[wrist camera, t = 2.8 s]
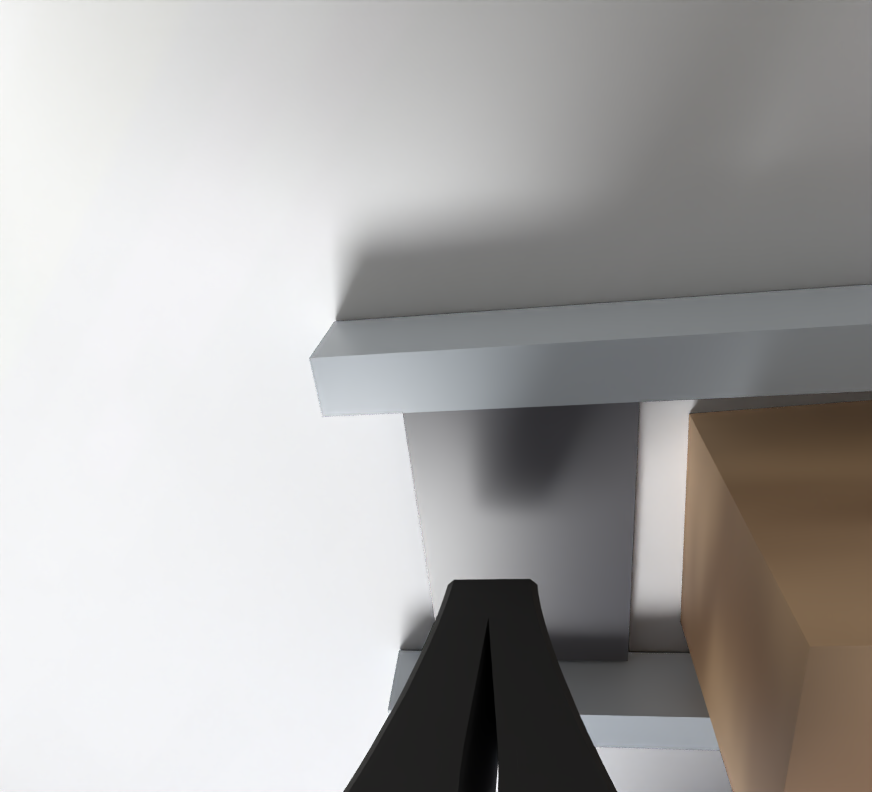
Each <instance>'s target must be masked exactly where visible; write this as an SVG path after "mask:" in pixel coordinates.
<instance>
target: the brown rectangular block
mask: <svg viewBox="0 0 872 792" xmlns="http://www.w3.org/2000/svg"><path fill="white" fill-rule="evenodd" d="M680 622H681V625H682V629H683V632H684V635H685V638H686V642H687V645H688V648H689V651H690V655H691V658H692V661H693V664H694V668H695V671H696V674H697V677H698V681H699V684H700V687H701V690H702V694H703V697H704V700H705V703H706V707H707V710H708V713H709V716H710V720H711V723H712V726H713V729H714V733H715V736H716V739H717V742H718V746H719V749H720V752H721V755H722V758H723V762H724V765H725V768H726V771H727V775H728V778H729V781H730V784H731V788H732V791H733V792H872V400H865V401H852V402H839V403H825V404H812V405H798V406H785V407H772V408H758V409H745V410H732V411H718V412H705V413H692V414H689V430H688V454H687V477H686V501H685V525H684V548H683V572H682V595H681V619H680Z"/></svg>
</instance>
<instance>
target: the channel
mask: <svg viewBox="0 0 872 792" xmlns="http://www.w3.org/2000/svg"><path fill="white" fill-rule="evenodd" d="M309 359H310V363H311V368H312V372H313V377H314V381H315V386H316V390H317V395H318V399H319V404H320V408H321V413H322V417H328V416H350V415H371V414H393V413H403V417H404V424H405V430H406V437H407V443H408V450H409V456H410V463H411V469H412V476H413V482H414V489H415V495H416V502H417V508H418V515H419V521H420V527H421V534H422V540H423V547H424V553H425V560H426V566H427V573H428V579H429V586H430V592H431V599H432V605H433V612H434V618H435V620H436V617H437V615H438V612H439V609H440V607H441V604H442V601H443V598H444V595H445V592H446V589H447V586H448V584H449V583H451V582H452V581H453V580H462V579H531V580H532V581H534V582H535V583H536V584H537V585H538V594H539V599H540V604H541V609H542V613H543V617H544V620H545V624H546V627H547V631H548V634H549V637H550V640H551V643H552V646H553V649H554V652H555V655H556V657H557V660H558V663H559V665H560V668H561V671H562V673H563V676H564V678H565V680H566V683H567V685H568V688H569V690H570V692H571V695H572V697H573V700H574V702H575V705H576V707H577V709H578V712H579V714H580V716H581V718H582V721H583V723H584V725H585V727H586V729H587V732H588V734H589V736H590V738H591V740H592V742H593V744H594V746H595V747H619V748H652V749H686V750H720V749H719V746H718V742H717V739H716V736H715V733H714V729H713V726H712V723H711V720H710V716H709V713H708V710H707V707H706V703H705V700H704V697H703V694H702V690H701V687H700V684H699V681H698V677H697V674H696V671H695V668H694V664H693V661H692V658H691V655H690V653H637V652H628V646H629V623H630V601H631V579H632V557H633V535H634V513H635V491H636V469H637V446H638V424H639V402H649V401H671V400H692V399H713V398H735V397H756V396H778V395H799V394H820V393H842V392H863V391H872V284H870V285H856V286H841V287H827V288H812V289H798V290H783V291H769V292H754V293H740V294H725V295H711V296H696V297H682V298H668V299H653V300H639V301H624V302H610V303H595V304H581V305H566V306H552V307H537V308H523V309H509V310H494V311H480V312H465V313H451V314H436V315H422V316H407V317H393V318H378V319H364V320H349V321H335V322H334V323H333V324H332V326H331V327H330V329H329V330H328V332H327V333H326V335H325V336H324V337H323V339H322V340H321V342H320V343H319V345H318V346H317V348H316V349H315V351H314V352H313V354H312V355H311V357H310V358H309ZM421 652H422V651H403V650H399V654H398V659H397V664H396V670H395V675H394V680H393V686H392V691H391V696H390V702H389V707H388V713H389V714H390V713H391V711H392V709H393V707H394V706H395V704H396V702H397V700H398V698H399V696H400V694H401V692H402V690H403V688H404V686H405V684H406V682H407V680H408V678H409V676H410V674H411V672H412V670H413V668H414V666H415V664H416V662H417V660H418V658H419V656H420V654H421Z"/></svg>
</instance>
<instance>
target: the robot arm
mask: <svg viewBox="0 0 872 792" xmlns="http://www.w3.org/2000/svg"><path fill="white" fill-rule="evenodd" d="M497 769H498V773H499V779H498V792H617V791H616V789H615V787H614V785H613V783H612V781H611V779H610V777H609V775H608V773H607V771H606V769H605V767H604V765H603V763H602V761H601V759H600V757H599V755H598V752H597V750H596V748H595V746H594V744H593V742H592V740H591V738H590V736H589V734H588V732H587V729H586V727H585V725H584V723H583V721H582V718H581V716H580V714H579V712H578V709H577V707H576V705H575V702H574V700H573V697H572V695H571V692H570V690H569V688H568V685H567V683H566V680H565V678H564V676H563V673H562V671H561V668H560V665H559V663H558V660H557V657H556V655H555V652H554V649H553V646H552V643H551V640H550V637H549V634H548V631H547V627H546V624H545V620H544V617H543V613H542V609H541V604H540V599H539V594H538V585H537V584H536V583H535V582H534V581H532V580H531V579H462V580H453V581H452V582H451V583H449V584H448V586H447V589H446V592H445V595H444V598H443V601H442V604H441V607H440V609H439V612H438V615H437V617H436V620H435V622H434V624H433V627H432V629H431V632H430V634H429V636H428V638H427V641H426V643H425V645H424V647H423V650H422V652H421V654H420V656H419V658H418V660H417V662H416V664H415V666H414V668H413V670H412V672H411V674H410V676H409V678H408V680H407V682H406V684H405V686H404V688H403V690H402V692H401V694H400V696H399V698H398V700H397V702H396V704H395V706H394V707H393V709H392V711H391V713H390V714H389V716H388V718H387V720H386V721H385V723H384V725H383V727H382V728H381V730H380V732H379V734H378V736H377V737H376V739H375V741H374V743H373V744H372V746H371V748H370V750H369V751H368V753H367V755H366V756H365V758H364V760H363V761H362V763H361V765H360V766H359V768H358V769H357V771H356V773H355V774H354V776H353V777H352V779H351V781H350V782H349V784H348V785H347V787H346V788H345V790H344V792H496V780H497Z"/></svg>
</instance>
